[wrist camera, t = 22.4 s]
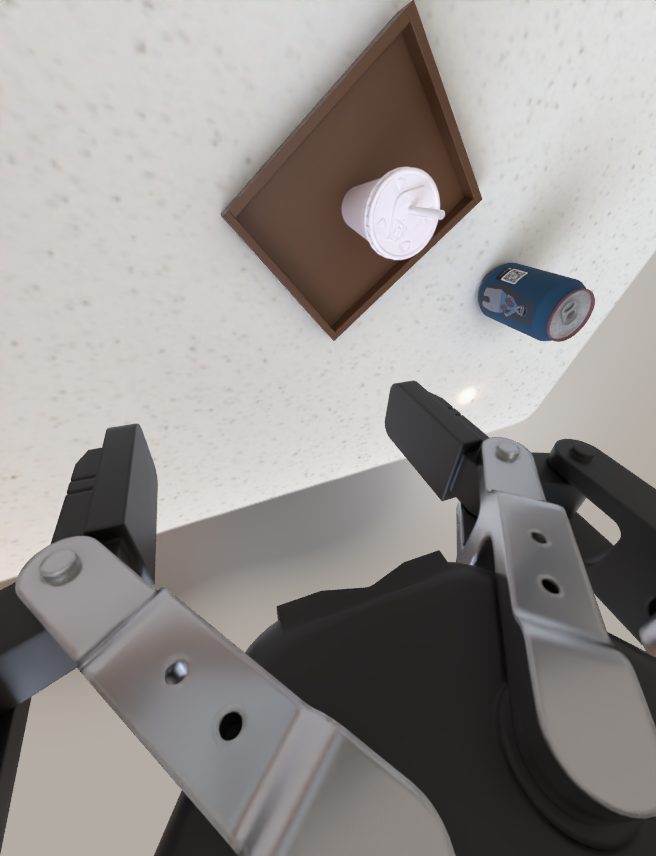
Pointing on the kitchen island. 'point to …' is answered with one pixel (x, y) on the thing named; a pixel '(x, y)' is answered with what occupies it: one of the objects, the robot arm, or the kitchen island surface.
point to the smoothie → (395, 212)
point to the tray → (355, 176)
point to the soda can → (536, 301)
